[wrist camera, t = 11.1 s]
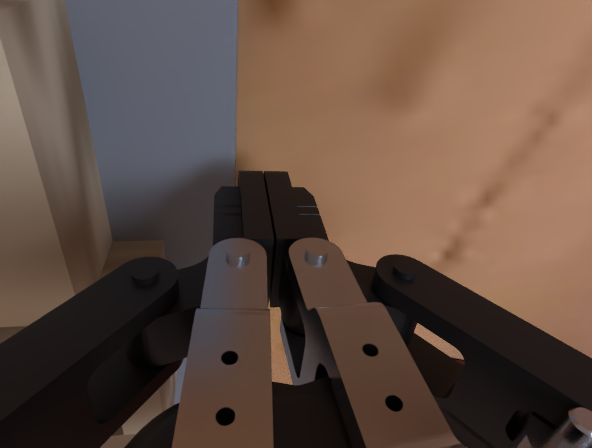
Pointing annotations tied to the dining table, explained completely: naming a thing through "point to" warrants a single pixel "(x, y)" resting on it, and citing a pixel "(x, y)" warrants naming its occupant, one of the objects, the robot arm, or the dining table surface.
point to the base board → (160, 116)
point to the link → (53, 184)
